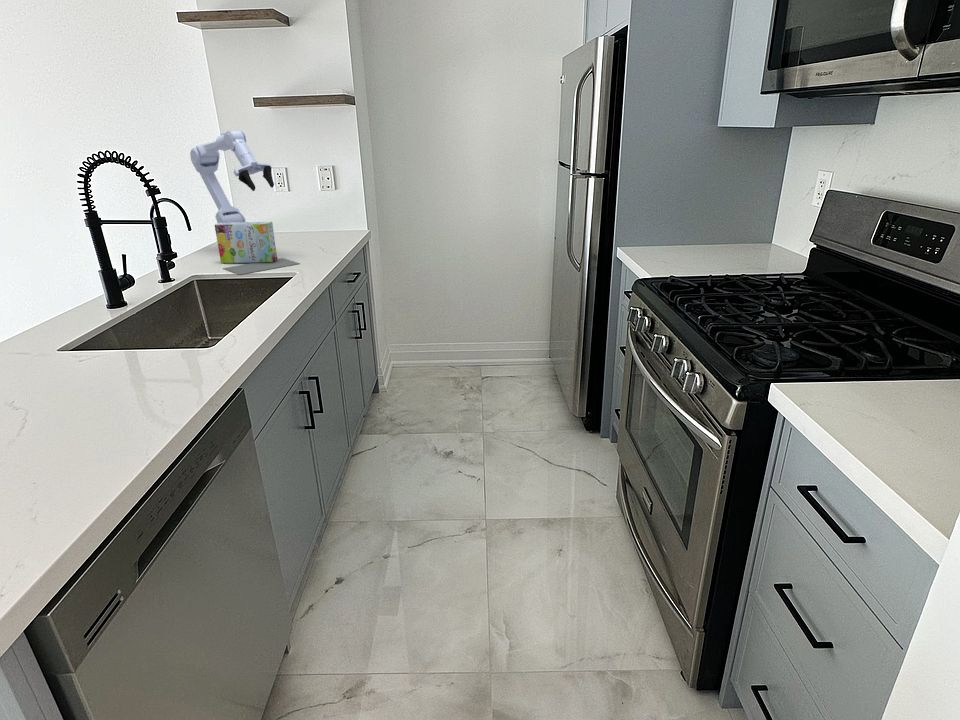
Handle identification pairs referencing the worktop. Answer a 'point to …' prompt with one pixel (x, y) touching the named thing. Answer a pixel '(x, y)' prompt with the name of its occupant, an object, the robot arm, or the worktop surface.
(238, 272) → the mat
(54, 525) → the worktop surface
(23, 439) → the worktop surface
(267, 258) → the snack box
